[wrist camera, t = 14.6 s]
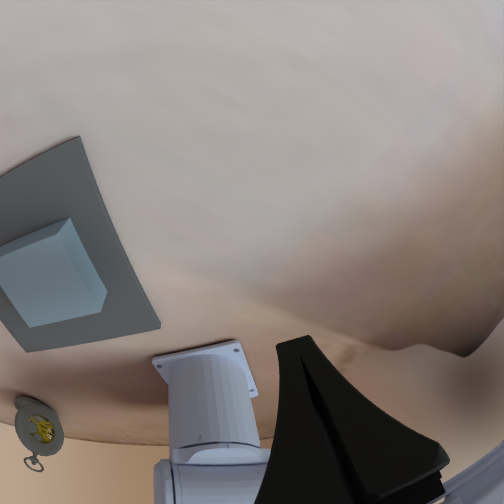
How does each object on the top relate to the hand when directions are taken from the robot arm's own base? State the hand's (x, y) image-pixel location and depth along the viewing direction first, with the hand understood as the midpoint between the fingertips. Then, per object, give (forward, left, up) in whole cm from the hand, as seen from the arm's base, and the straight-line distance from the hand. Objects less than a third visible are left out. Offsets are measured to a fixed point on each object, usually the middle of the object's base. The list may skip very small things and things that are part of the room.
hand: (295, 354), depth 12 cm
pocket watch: (-16, +31, -10) cm, 36 cm away
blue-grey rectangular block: (+2, +18, -8) cm, 20 cm away
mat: (+2, +16, -10) cm, 19 cm away
